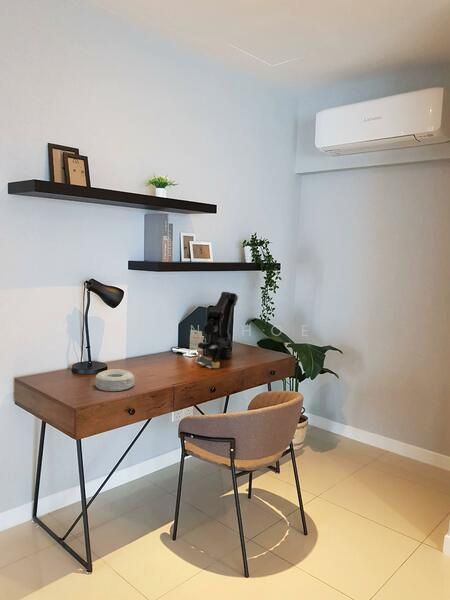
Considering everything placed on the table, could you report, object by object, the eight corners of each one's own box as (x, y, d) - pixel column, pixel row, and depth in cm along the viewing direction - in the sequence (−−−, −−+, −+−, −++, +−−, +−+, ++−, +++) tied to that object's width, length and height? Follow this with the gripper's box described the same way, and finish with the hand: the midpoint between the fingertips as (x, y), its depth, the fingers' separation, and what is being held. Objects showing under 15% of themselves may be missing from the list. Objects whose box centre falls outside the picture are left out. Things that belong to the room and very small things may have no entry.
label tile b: (214, 365, 265) (214, 364, 265) (218, 366, 262) (219, 366, 262) (205, 366, 261) (205, 365, 261) (209, 368, 258) (209, 367, 258)
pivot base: (201, 360, 275) (201, 359, 275) (207, 362, 270) (207, 361, 270) (192, 361, 272) (192, 360, 272) (198, 363, 267) (198, 363, 267)
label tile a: (207, 362, 270) (207, 361, 270) (211, 364, 267) (211, 363, 267) (198, 363, 267) (198, 362, 267) (202, 365, 264) (202, 364, 264)
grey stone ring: (120, 379, 231) (120, 366, 230) (142, 387, 219) (142, 374, 218) (87, 385, 218) (88, 372, 218) (109, 394, 206) (109, 381, 206)
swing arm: (195, 360, 271) (196, 354, 271) (201, 360, 273) (201, 354, 273) (214, 368, 257) (214, 361, 256) (219, 367, 259) (220, 361, 258)
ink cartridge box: (205, 354, 290) (206, 330, 288) (201, 355, 286) (202, 331, 284) (193, 352, 294) (194, 328, 292) (189, 353, 290) (189, 329, 288)
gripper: (209, 335, 252) (208, 365, 254) (237, 333, 263) (236, 361, 265) (198, 332, 261) (196, 360, 263) (225, 330, 272) (224, 357, 274)
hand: (214, 360), depth 266 cm, fingers closed
